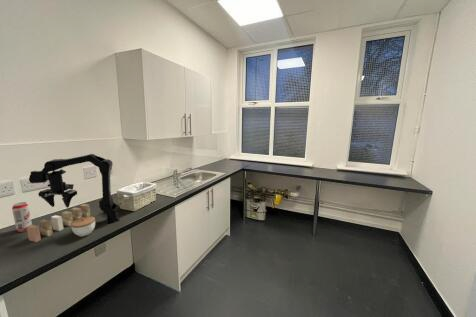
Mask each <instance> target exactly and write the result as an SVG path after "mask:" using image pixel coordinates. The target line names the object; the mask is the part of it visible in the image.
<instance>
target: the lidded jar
mask: <svg viewBox="0 0 476 317" xmlns="http://www.w3.org/2000/svg"><path fill="white" fill-rule="evenodd" d="M70 227H71V230H72V232H73V234H74V235H76V236H78V237H86V236H89V235H91V234H92V232H93V231H94V230H95V227H96V217H94V216H90V217H82V218H79V219H77V220H74V221H73V222H72V223H71V226H70Z"/></svg>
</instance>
